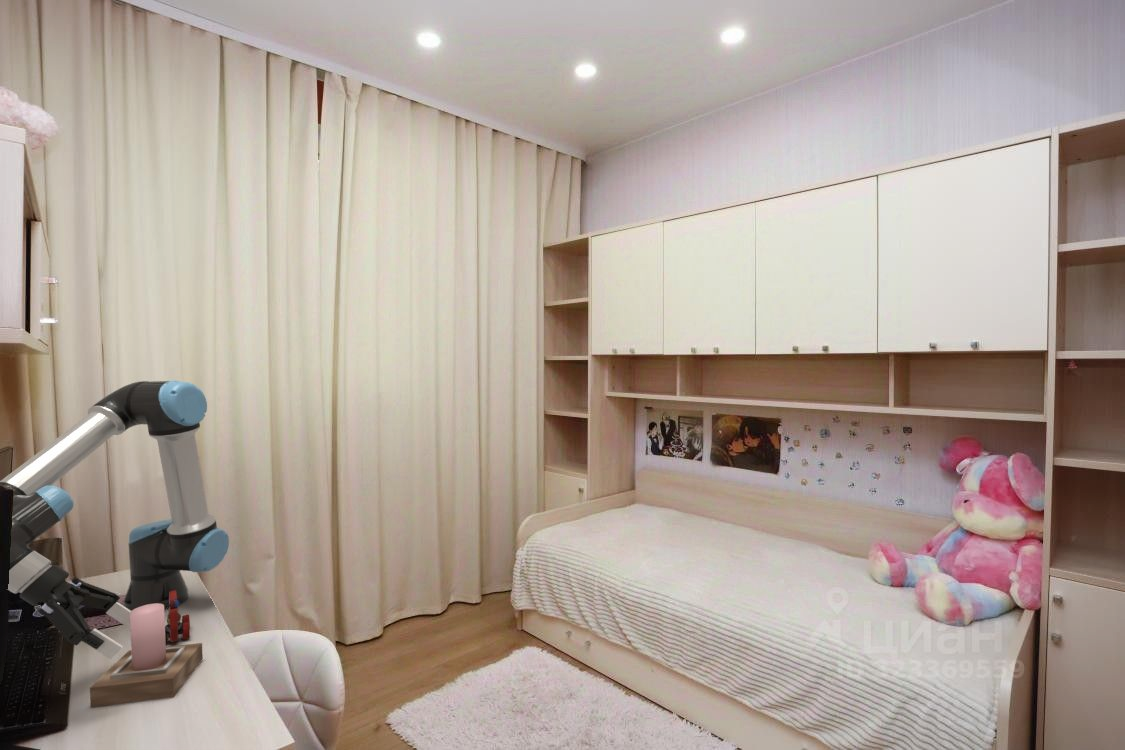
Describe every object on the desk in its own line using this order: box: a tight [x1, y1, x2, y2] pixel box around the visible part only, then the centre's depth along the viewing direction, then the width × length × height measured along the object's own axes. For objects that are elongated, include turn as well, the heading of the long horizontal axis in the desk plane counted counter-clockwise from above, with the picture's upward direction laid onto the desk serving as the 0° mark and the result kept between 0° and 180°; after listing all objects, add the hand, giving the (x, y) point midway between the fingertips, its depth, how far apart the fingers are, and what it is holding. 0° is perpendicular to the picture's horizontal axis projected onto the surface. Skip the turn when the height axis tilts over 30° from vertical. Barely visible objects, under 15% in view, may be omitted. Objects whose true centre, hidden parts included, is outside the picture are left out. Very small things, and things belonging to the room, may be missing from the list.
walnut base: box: [89, 642, 204, 708], centre depth 125 cm, size 15×15×5 cm
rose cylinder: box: [130, 603, 167, 671], centre depth 125 cm, size 6×6×12 cm
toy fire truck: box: [165, 590, 191, 643], centre depth 144 cm, size 7×12×10 cm, turn 34°
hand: (127, 637), depth 123 cm, fingers open, 13 cm apart
